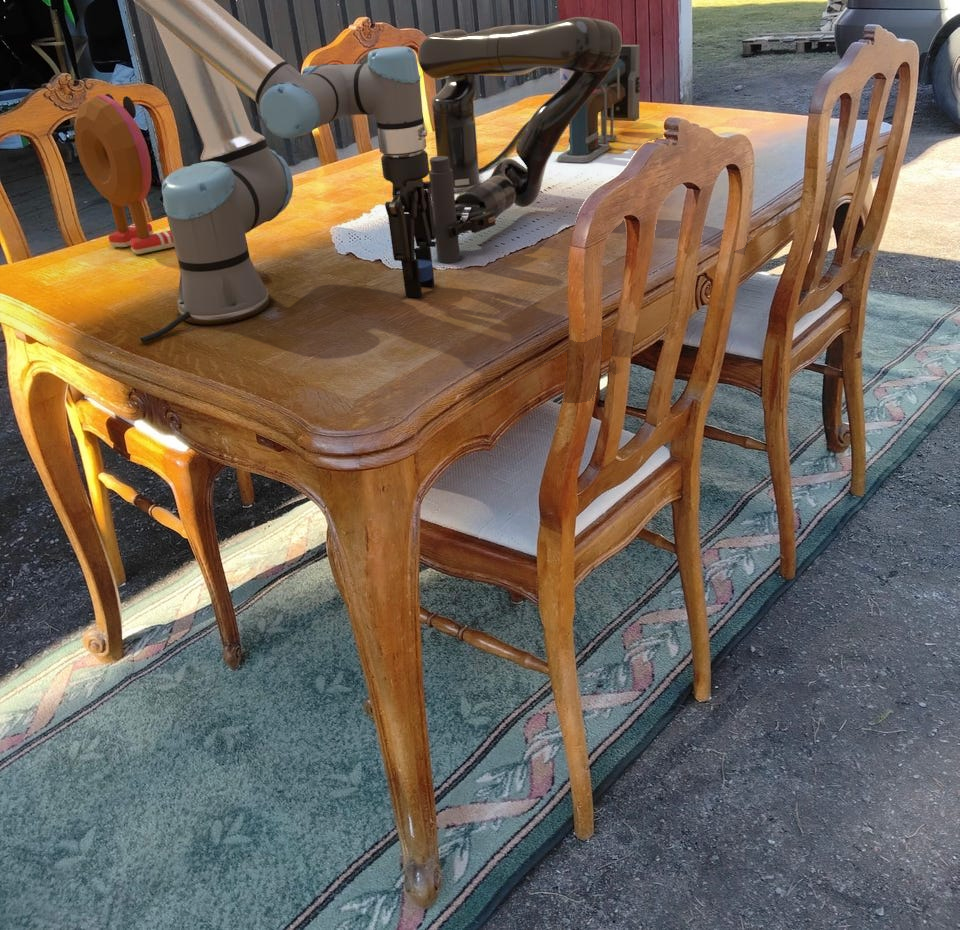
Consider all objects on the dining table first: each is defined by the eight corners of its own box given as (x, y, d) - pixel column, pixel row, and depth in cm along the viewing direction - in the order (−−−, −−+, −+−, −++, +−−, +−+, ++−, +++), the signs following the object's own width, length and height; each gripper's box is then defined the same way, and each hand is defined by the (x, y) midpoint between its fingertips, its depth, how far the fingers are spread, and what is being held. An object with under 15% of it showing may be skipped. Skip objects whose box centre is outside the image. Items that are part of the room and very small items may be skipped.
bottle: (435, 257, 181) (425, 157, 172) (457, 254, 182) (448, 154, 173) (439, 264, 178) (429, 162, 168) (462, 261, 179) (453, 159, 169)
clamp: (587, 162, 233) (585, 68, 223) (554, 161, 237) (551, 68, 226) (639, 130, 259) (639, 44, 248) (608, 129, 263) (607, 44, 252)
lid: (432, 281, 163) (430, 267, 162) (403, 283, 163) (401, 269, 162) (435, 271, 167) (433, 258, 166) (406, 273, 168) (405, 259, 166)
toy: (192, 246, 198) (156, 92, 183) (148, 260, 192) (107, 102, 177) (139, 230, 212) (102, 85, 196) (96, 243, 205) (54, 95, 190)
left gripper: (402, 166, 146) (419, 311, 158) (446, 139, 161) (459, 273, 172) (357, 166, 149) (378, 308, 161) (405, 139, 163) (420, 271, 175)
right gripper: (446, 183, 189) (402, 208, 176) (512, 187, 183) (472, 213, 170) (449, 221, 193) (406, 249, 180) (514, 226, 187) (475, 255, 174)
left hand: (420, 290), depth 166 cm, fingers closed on lid, 5 cm apart
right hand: (438, 231), depth 175 cm, fingers closed on bottle, 4 cm apart
